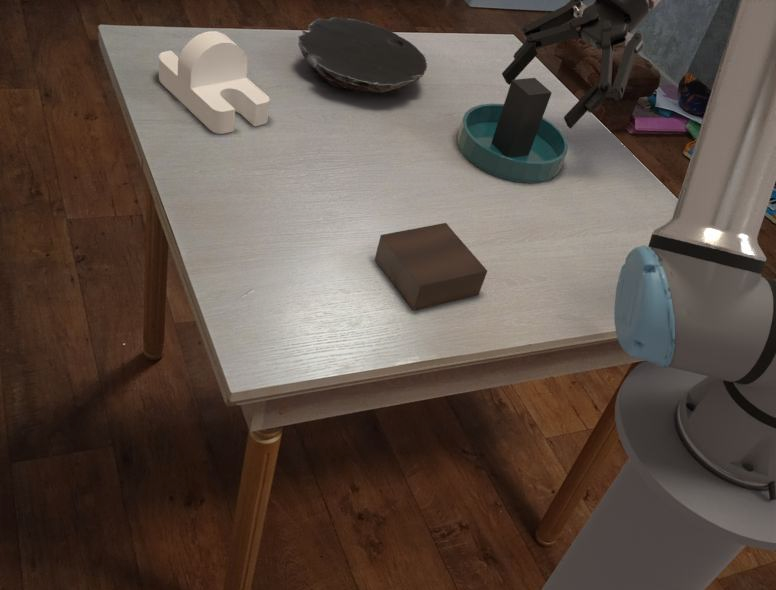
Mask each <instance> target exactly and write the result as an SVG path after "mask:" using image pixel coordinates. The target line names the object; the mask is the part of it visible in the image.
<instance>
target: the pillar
mask: <svg viewBox="0 0 776 590" xmlns="http://www.w3.org/2000/svg"><path fill="white" fill-rule="evenodd" d="M552 94H553V93H552V91H551V90H550V89H548V88H547V86H545V85H544V84H543V83H542V82H540V81H539V80H538V79H537V78H536V77H528V78H527V77H526V78H518V79H517V78H515V80H512V82H511V84H510V85H509V88H508V91H507V94H506V97H505V101H504V103H503V104H504V106H503V109H502V112H501V115H500V118H499V121H498V124H497V127H496V130H495V133H494V136H493V139H492V144H493V145H494V146H495V147H496V148H497V149H498V150H499V151H500V152H501V153H502V154H503V155H504V156H507V157H517V156H524V155H529V153H530V150H531V148H532V145H533V142H534V139H535V137H536V134H537V131H538V129H539V126H540V123H541V120H542V118H543V117H544V115H545V112H546V109H547V107H548V104H549V101H550V98H551V97H552Z"/></svg>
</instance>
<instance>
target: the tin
mask: <svg viewBox="0 0 776 590" xmlns="http://www.w3.org/2000/svg"><path fill="white" fill-rule="evenodd" d="M503 106H504V103H483V104H479V105H475V106H473V107H471V108H469V109H468V110H467V111H465V113H464V115H463V116H462V120H461V123H460V126H459V130H458V133H457V138H456V139H457V140H456V141H457V146H458V149H459V150H460V152H461V154H462V155H463V156H464V157H465V158H466V159H467V161H469V162H470V163H472V165H474V166H475V167H477V168H479V169H480V170H482V171H483V172H486V173H487V174H489V175H492V176H493V177H497V178H500V179H503V180H507V181H511V182H515V183H516V182H517V183H523V184H525V183H527V184H535V183H541V182H546V181H549V180H551V179H553V178H554V177H556V176H557V175H558V174H559V172H560V170H561V169H562V166H563V164H564V161H565V159H566V156H567V154H568V152H569V144H568V139H567V137H566V136H565V134H564V133H563V132H562V130H561V129H560V128H559V127H558V126H556V125H555V124H554V123H553V122H552V121H550V120H548V119H547V118H546V117H544V116H543V118H542V120H541V123H540V126H539V129H538V131H537V134H536V137H535V139H534V142H533V145H532V148H531V150H530V153H529V155H524V156H517V157H507V156H504V155H503V154H502V153H501V152H500V151H499V150H498V149H497V148H496V147H495V146H494V145H493V144H492V139H493V136H494V133H495V130H496V127H497V124H498V121H499V118H500V115H501V112H502V109H503Z"/></svg>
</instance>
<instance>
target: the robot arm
mask: <svg viewBox="0 0 776 590" xmlns="http://www.w3.org/2000/svg"><path fill="white" fill-rule="evenodd" d="M660 2H661V0H594V2H593V3H591V4H590V5H589V6H587V5H586V4H585V3H583V1H582V0H569V1H568V2H567V3H566V4H565V5H563V6H561V7H559V8H557V9H555V10H553V11H551V12H548V13H547V14H546V15H544V16H542V17H540V18H538V19H536V20H534V21H531V22H530V23H528V24H526V25H524V26H523V27H522V29H521V31H522V33H523V35H524V36H523V37H524V38H525V41H524V43H523V44H522V45H521V46H520V47H519V48H518V49H517V51H515V52H514V54H513V56H512V57H513V60H512V62H511V63H509V64H508V65H507V67H506V68H505V69H504V70H503V71H502V72H501V75H502V78H503V79H504V81H505V83H506V84H507V85H508V86H510V85H511V82H512V80H516V79H517V78H518V76H519V75H520V74H521V73H522V72H523V71H524V70H525V69H526V68H527V67H528V66H529V65H530V63H531V62H532V61H533V60H534V59H535V58H536V56H538V55H539V54H538V51H537V50H539V49H541V48H545V47H548V46H552V45H556V44H559V43H562V42H566V41H570V40H575V41H576V40H581V39H582V40H583V42H584V43H587V44H589V45H591V46H592V47H593V48H594V49H596V50H597V51H599V50H601V60H600V74H599V75H600V76H599V77H600V79H599V83H598V85H596V84H593V85H592V86H591V87H590V88H589V89H588V90H587V91H586V93H584V95H583V96H581V97H580V99H578V101H577V102H576V103H575V104H574V105H573V106H572V108H570V110H568V112H567V113H566V114H565V115H564V116H563V119H564V123H565V124H566V127H568V128H569V129H572V128H573V127H574V126H575V125H576V124H577V123H578V122H579V121H580V119H581V118H582V117H583V116H585V114H586V113H587V112H588V113H589V114H591V113H593V112H594V111H596V109H597V108H598V107H599V106H600V105H601V104H602V103H603V101H605V99H607V98H611V99H614V100H615V101H621V100H622V99H623V97H624V93H625V90H626V86H627V84H628V81H629V79H630V75H631V72H632V69H633V65H634V63H635V60H636V57H637V55H638V54H639V53H640V52H641V50H642V49H643V47H644V42H643V36H642V34H641V33H640V32H636V33H632V31H634V30H635V29H636V28H637V27H638V26H639V25H640V24H641V23H642V21H643V20H644V19H645V18H646V17H647V16H648V14H649V11H652V10H653V9H654V8H655V7H656V6H657V5H658V4H659V3H660ZM580 16H581V17H580ZM578 28H579V29H578ZM622 43H624V45H625V47H624V51H623V53H622V56H621V59H620V63H619V65H618V68H617V72H616V74H615V77H614V80H613V84H612V77H613V76H612V75H613V59H614V54H615V46H617V45H619V44H622ZM598 86H599V87H598ZM709 94H710V95H709V98H708V101H707V103H706V107H705V111H704V114H703V117H702V121H701V124H700V127H699V130H698V134H697V137H696V139H695V143H694V145H693V150H692V153H691V156H690V159H689V163H688V165H687V168H686V169H687V170H686V173H685V176H684V179H683V182H682V186H681V189H680V192H679V195H678V198H677V202H676V205H675V208H674V212H673V215H672V218H670V220H669V221H668V222H666V223H664V224H663V225H661V226H660V227H657V228H655V229H654V230H653V231H652V232H651V236H650V238H649V243H648V245H641V246H636V247H634V248H633V249H631V250H630V251H629V253H628V254H627V256H626V257H625V261H624V264H623V265H622V267H621V269H620V272H619V276H618V280H617V284H616V289H615V297H614V307H613V309H614V311H613V312H614V313H613V316H614V317H613V318H614V328H615V335H616V338H617V342H618V344H619V346H620V348H621V349H622V350H623V351H624V352H625V354H627V355H628V356H629V357H632V358H635V359H638V360H641V361H648V362H651V363H654V364H656V365H658V366H659V367H662V368H666V367H672V368H676V369H680V370H684V371H688V372H692V373H696V374H700V375H704V376H708V377H707V378H705V379H704V380H702V381H701V382H699V383H697V384H696V385H694V386H693V387H692V388H691V389H689V390H688V392H686V393H685V395H684V396H683V397H682V399H681V400H680V402H679V403H678V405H677V407H676V409H675V414H674V422H675V427H676V431H677V433H678V436H679V438H680V440H681V442H682V443H683V445H684V447H685V448H686V449H687V451H688V452H689V453H690V454H691V455H692V457H693V458H694V459H695V460H696V461H697V462H698V463H700V464H701V465H702V466H703V467H704V468H705V469H707V470H708V471H710V472H711V473H712V474H714V475H716V476H717V477H719V478H721V479H722V480H724V481H726V482H729V483H731V484H733V485H736V486H739V487H742V488H746V489H750V490H757V491H769V498H770V500H776V491H775V489H776V279H773V278H769V277H766V276H762V274H763V271H764V268H765V265H766V263H767V257H766V255H765V253H764V251H763V250H762V248H761V246H760V245H759V242H758V236H759V234H760V230H761V228H762V224H763V221H764V218H765V215H766V212H767V209H768V207H769V203H770V200H771V197H772V193H773V191H774V188H775V184H776V0H738V4H737V7H736V10H735V14H734V16H733V20H732V24H731V27H730V30H729V33H728V36H727V40H726V43H725V46H724V49H723V51H722V56H721V58H720V62H719V66H718V68H717V72H716V75H715V79H714V82H713V85H712V88H711V91H710V93H709Z"/></svg>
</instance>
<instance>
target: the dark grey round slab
mask: <svg viewBox="0 0 776 590" xmlns="http://www.w3.org/2000/svg"><path fill="white" fill-rule="evenodd" d="M307 30H308V31H305V30H301V32H302V34H301V35H298V36H297V38H298V42H297V44H298V47H299V49H300V52H301V54H302V55H303V57H304V59H305V60H306V61H307V62H308V64H309V65H310V66H311V67H312V68H314V69H315V70H316V71H317V72H318V74H319V76H320V78H322V79H323V80H325V82H326V83H328V84H329V85H330V86H333V87H335V88H344V89H347V90H351V91H354V92H372V93H385V92H395V91H398V90H399V89H400V88H404V87H408V86H410V85H411V84H413V83H415V82H416V81H419V80H420V79H421V78H423V77H424V76H425V73H426V72H427V68H428V63H427V59H426V57H425V55H424V54H423V53H422V52H421V51H420V50H419V49H418V47H416V46H415V45H414V44H413V43H411V41H409V40H407V39H405V38H403V37H402V36H400V35H398V34H397V33H395V32H393V31H391V30H389V29H387V28H384V27H382V26H380V25H376V24H373V23H370V22H367V21H363V20H358V19H356V18H355V19H353V18H341V17H335V16H334V17H331V18H329V19H326V18H317V19H316V20H313V21H312V22H311V23H310V24H308V27H307Z"/></svg>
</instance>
